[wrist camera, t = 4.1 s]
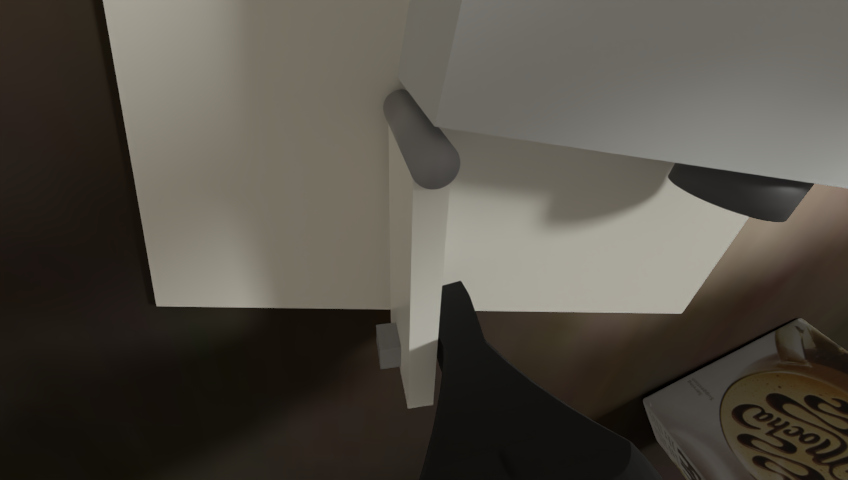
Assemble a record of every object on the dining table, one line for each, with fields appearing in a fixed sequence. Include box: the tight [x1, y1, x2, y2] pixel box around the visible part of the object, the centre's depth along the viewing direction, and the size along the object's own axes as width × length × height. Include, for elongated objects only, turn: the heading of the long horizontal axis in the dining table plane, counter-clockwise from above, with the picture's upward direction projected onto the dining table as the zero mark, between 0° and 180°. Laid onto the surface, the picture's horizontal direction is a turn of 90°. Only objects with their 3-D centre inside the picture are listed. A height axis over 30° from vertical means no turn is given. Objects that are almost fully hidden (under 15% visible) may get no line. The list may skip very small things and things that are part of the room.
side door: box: [376, 89, 460, 409], centre depth 10 cm, size 8×1×4 cm, turn 178°
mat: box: [103, 0, 749, 314], centre depth 11 cm, size 20×15×1 cm
